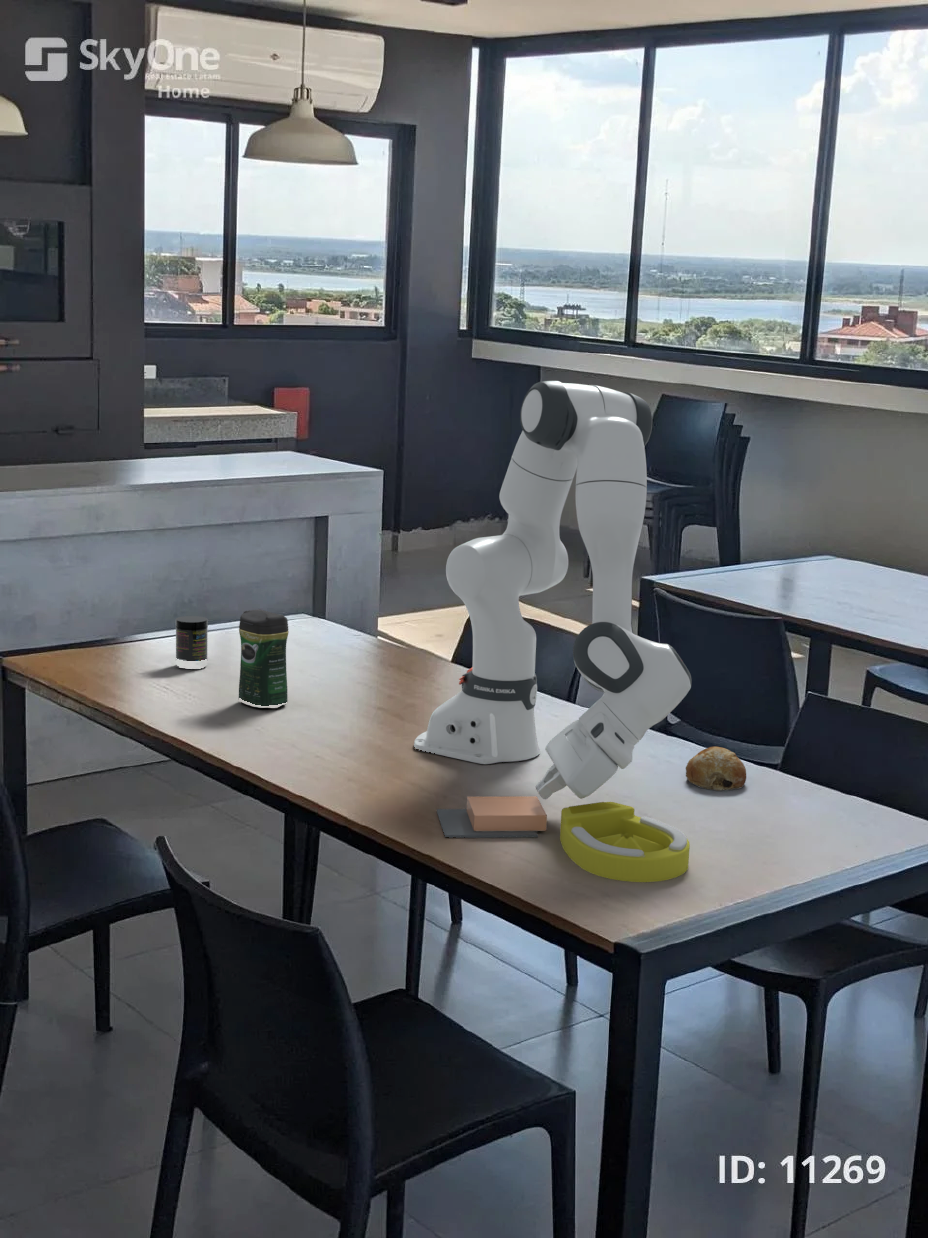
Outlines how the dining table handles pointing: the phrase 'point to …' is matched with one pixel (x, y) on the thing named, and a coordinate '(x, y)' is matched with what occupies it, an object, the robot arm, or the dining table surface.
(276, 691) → the coffee jar
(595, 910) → the dining table surface
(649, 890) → the dining table surface
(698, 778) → the bread roll
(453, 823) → the rubber mat
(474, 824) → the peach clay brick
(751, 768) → the dining table surface
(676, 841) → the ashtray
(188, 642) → the supplement container
